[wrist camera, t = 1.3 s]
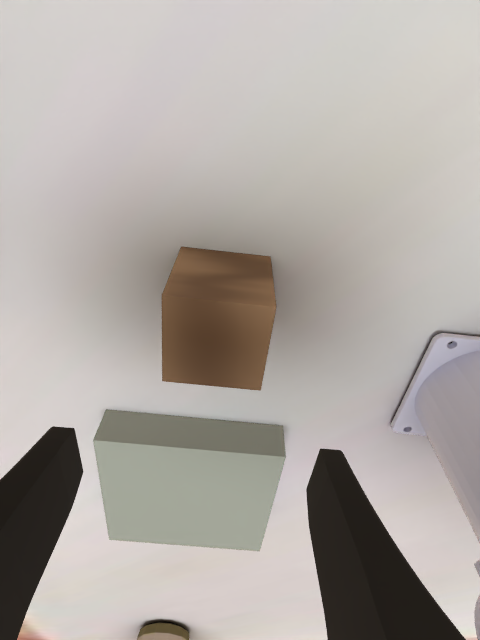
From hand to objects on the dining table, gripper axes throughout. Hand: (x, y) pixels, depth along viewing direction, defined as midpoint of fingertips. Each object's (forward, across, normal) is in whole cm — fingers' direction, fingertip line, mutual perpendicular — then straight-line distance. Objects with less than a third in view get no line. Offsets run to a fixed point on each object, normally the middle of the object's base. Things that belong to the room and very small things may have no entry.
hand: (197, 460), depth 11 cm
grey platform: (+11, +1, +16) cm, 19 cm away
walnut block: (+11, 0, 0) cm, 11 cm away
